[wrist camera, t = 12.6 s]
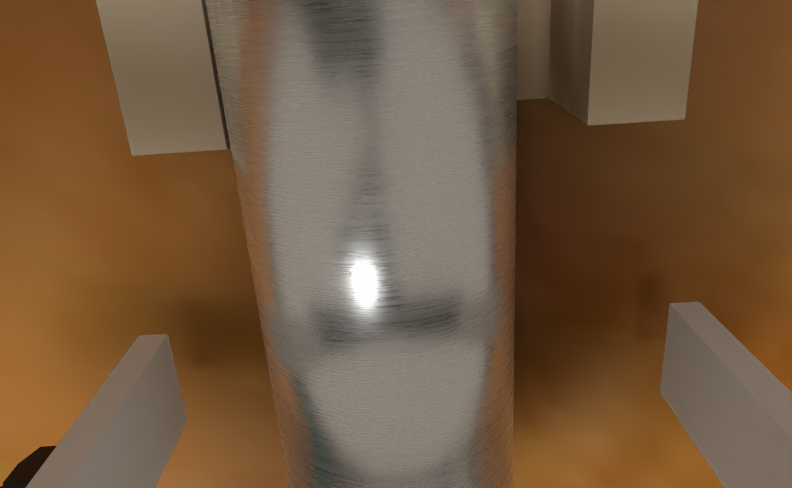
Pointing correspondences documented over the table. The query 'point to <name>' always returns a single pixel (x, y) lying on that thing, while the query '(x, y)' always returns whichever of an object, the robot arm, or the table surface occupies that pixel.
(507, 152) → the axle
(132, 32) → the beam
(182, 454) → the table surface
